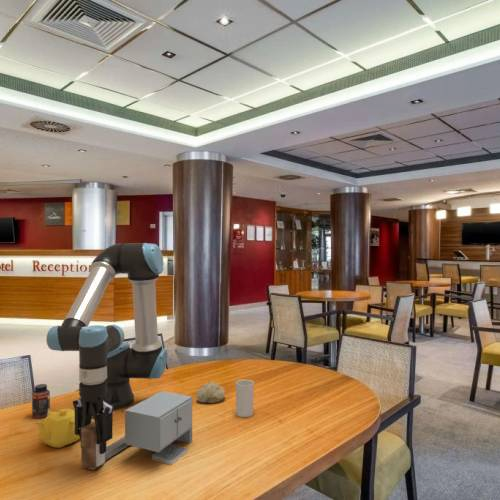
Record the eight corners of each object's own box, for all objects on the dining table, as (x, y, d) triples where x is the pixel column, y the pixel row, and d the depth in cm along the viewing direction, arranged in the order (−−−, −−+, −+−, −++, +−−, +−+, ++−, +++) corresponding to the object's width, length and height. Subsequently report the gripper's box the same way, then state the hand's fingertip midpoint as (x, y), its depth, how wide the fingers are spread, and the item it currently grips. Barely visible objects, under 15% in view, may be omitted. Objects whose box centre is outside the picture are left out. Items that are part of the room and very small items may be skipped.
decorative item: (212, 398, 162) (195, 383, 168) (208, 415, 166) (191, 400, 171) (233, 386, 172) (216, 372, 177) (228, 403, 175) (212, 388, 180)
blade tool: (81, 466, 119) (81, 427, 118) (132, 435, 138) (132, 401, 138) (93, 470, 117) (93, 430, 117) (143, 437, 136) (143, 404, 136)
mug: (256, 416, 156) (256, 383, 155) (239, 419, 153) (239, 386, 153) (246, 406, 165) (246, 376, 165) (230, 409, 162) (230, 378, 162)
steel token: (151, 461, 124) (151, 455, 124) (168, 449, 131) (168, 443, 131) (171, 466, 121) (171, 460, 121) (187, 454, 128) (187, 448, 128)
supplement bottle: (53, 414, 157) (53, 384, 157) (39, 420, 151) (39, 389, 151) (42, 411, 159) (42, 382, 159) (28, 417, 154) (28, 386, 154)
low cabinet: (125, 459, 124) (125, 410, 124) (161, 434, 140) (161, 391, 140) (161, 468, 118) (161, 417, 118) (195, 441, 135) (195, 397, 135)
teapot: (78, 450, 129) (78, 417, 129) (33, 454, 127) (34, 420, 127) (87, 431, 142) (88, 401, 142) (47, 434, 140) (47, 403, 140)
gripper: (60, 380, 120) (60, 461, 120) (107, 389, 112) (107, 475, 113) (80, 373, 126) (80, 450, 127) (126, 381, 119) (126, 462, 119)
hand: (93, 461), depth 120 cm, fingers closed on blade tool, 4 cm apart
